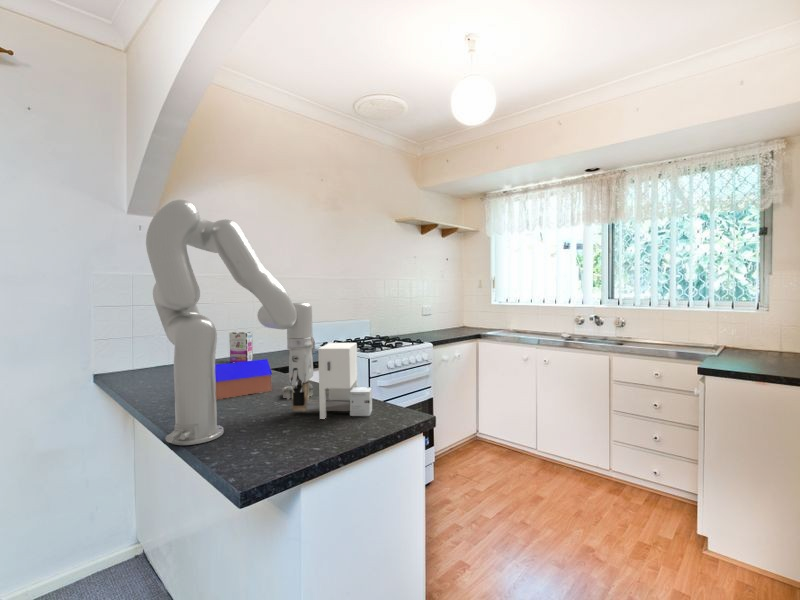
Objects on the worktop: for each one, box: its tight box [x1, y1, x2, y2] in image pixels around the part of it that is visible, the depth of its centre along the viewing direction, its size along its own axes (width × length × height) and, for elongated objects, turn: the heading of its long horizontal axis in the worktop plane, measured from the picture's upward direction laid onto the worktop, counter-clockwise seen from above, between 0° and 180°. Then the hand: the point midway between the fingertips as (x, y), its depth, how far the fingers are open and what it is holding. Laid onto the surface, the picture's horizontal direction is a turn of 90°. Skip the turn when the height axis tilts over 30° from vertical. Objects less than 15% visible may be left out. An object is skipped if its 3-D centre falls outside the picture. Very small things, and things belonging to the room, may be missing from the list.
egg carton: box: [281, 383, 314, 400], centre depth 143 cm, size 11×8×4 cm
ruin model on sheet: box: [311, 338, 316, 354], centre depth 243 cm, size 11×3×10 cm, turn 118°
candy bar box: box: [229, 331, 254, 363], centre depth 215 cm, size 11×5×16 cm, turn 73°
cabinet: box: [318, 342, 359, 420], centre depth 121 cm, size 14×9×20 cm, turn 177°
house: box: [215, 358, 273, 401], centre depth 149 cm, size 12×20×12 cm, turn 124°
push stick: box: [291, 380, 350, 412], centre depth 122 cm, size 4×18×8 cm, turn 87°
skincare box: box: [349, 386, 373, 417], centre depth 121 cm, size 6×6×7 cm
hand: (301, 402), depth 122 cm, fingers closed on push stick, 4 cm apart
